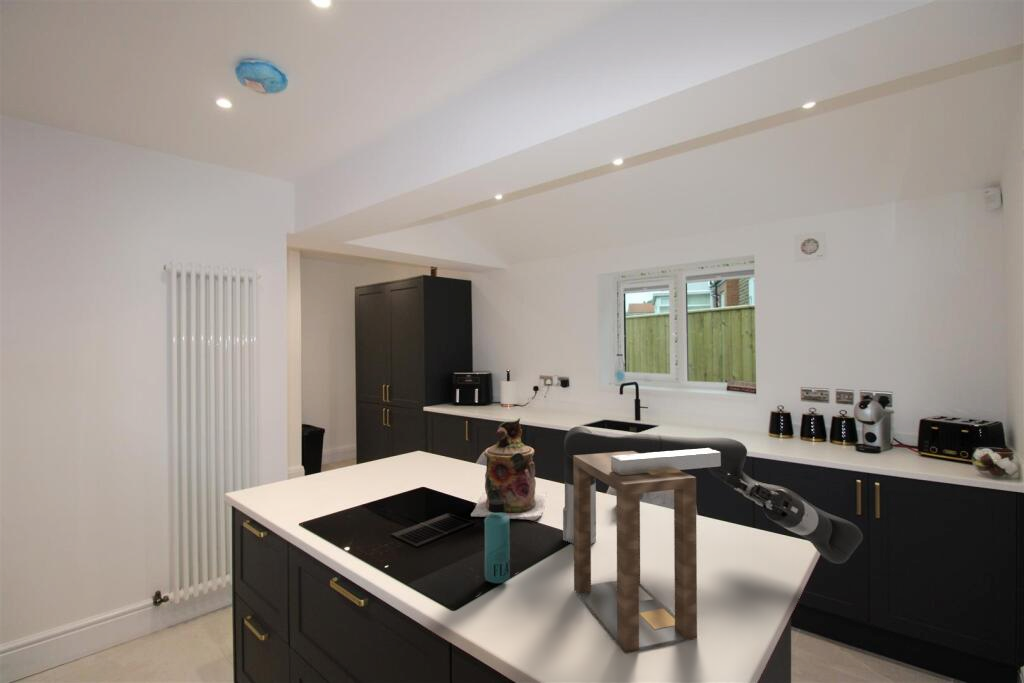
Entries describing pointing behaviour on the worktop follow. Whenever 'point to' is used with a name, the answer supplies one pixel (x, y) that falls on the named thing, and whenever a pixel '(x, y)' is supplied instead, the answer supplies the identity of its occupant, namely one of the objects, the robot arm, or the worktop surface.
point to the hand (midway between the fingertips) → (740, 482)
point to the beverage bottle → (497, 543)
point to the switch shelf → (636, 556)
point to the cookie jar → (511, 476)
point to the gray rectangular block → (665, 461)
